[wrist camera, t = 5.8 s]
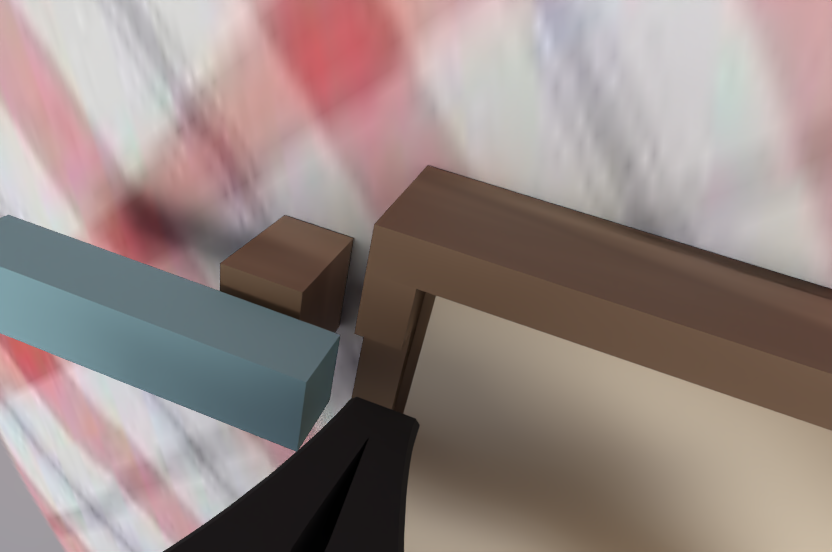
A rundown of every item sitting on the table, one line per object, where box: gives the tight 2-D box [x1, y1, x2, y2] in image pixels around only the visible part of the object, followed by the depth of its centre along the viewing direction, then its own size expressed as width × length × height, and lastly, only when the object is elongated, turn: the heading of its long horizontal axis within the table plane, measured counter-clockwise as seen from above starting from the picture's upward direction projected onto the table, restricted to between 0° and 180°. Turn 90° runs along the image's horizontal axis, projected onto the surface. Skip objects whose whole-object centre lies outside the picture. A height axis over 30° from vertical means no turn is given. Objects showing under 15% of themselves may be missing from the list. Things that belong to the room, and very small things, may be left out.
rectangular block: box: [0, 215, 340, 452], centre depth 12 cm, size 2×8×2 cm, turn 77°
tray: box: [220, 166, 832, 431], centre depth 14 cm, size 14×18×4 cm
